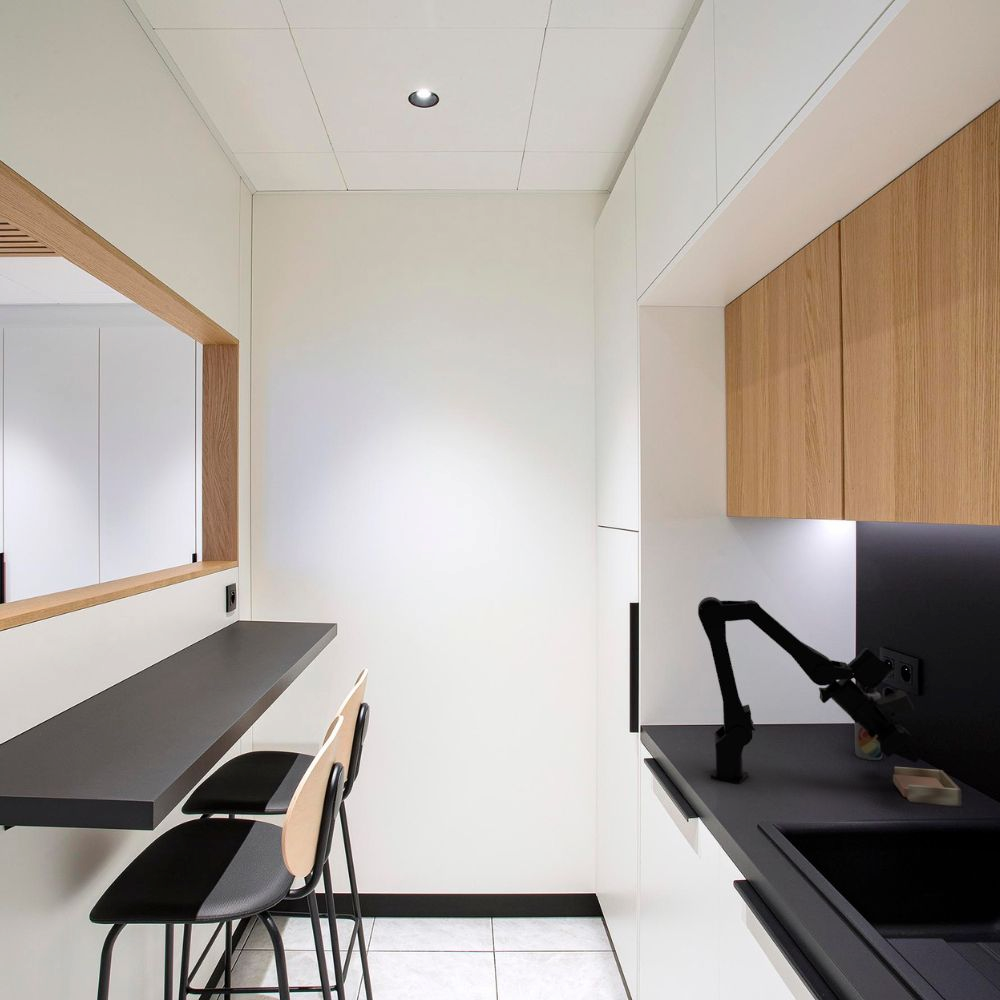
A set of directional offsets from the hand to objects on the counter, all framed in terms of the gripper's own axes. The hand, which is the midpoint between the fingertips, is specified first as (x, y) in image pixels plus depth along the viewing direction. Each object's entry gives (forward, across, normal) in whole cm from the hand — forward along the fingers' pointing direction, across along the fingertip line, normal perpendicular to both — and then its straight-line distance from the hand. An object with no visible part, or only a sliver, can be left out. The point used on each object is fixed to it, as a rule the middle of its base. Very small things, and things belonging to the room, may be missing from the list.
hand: (916, 760), depth 143 cm
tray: (+6, 0, +3) cm, 7 cm away
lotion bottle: (+2, +21, +8) cm, 23 cm away
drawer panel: (+1, 0, +6) cm, 6 cm away
